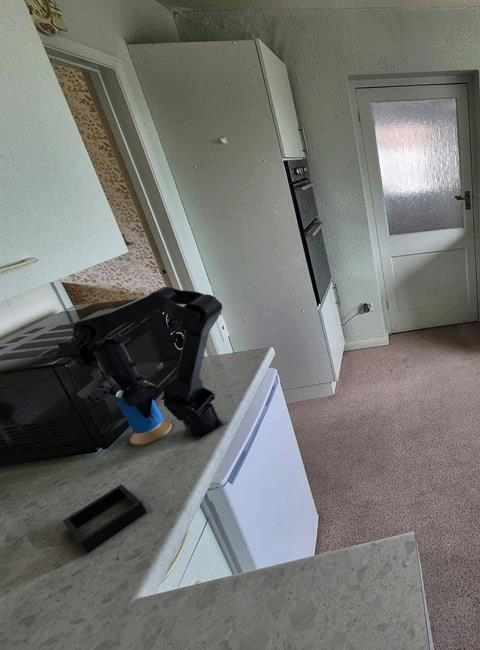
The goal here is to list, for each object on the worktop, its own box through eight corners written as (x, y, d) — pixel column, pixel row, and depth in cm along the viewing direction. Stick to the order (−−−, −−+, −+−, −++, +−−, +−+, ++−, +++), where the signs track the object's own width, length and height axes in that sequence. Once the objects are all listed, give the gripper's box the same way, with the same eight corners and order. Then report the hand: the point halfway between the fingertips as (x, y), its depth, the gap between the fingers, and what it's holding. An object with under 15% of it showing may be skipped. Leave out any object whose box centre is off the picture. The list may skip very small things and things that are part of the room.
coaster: (162, 418, 107) (161, 416, 107) (178, 427, 103) (177, 426, 103) (124, 438, 101) (123, 437, 100) (139, 450, 96) (138, 448, 96)
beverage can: (148, 436, 97) (127, 399, 92) (128, 434, 99) (106, 397, 94) (170, 419, 103) (151, 383, 98) (151, 417, 105) (131, 381, 100)
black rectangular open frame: (127, 493, 83) (121, 484, 82) (147, 512, 79) (141, 502, 77) (69, 530, 76) (62, 520, 75) (87, 553, 71) (80, 543, 70)
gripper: (59, 370, 91) (89, 421, 98) (87, 389, 82) (119, 445, 88) (114, 348, 100) (139, 397, 106) (146, 363, 90) (171, 416, 97)
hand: (141, 413), depth 99 cm, fingers closed on beverage can, 6 cm apart
